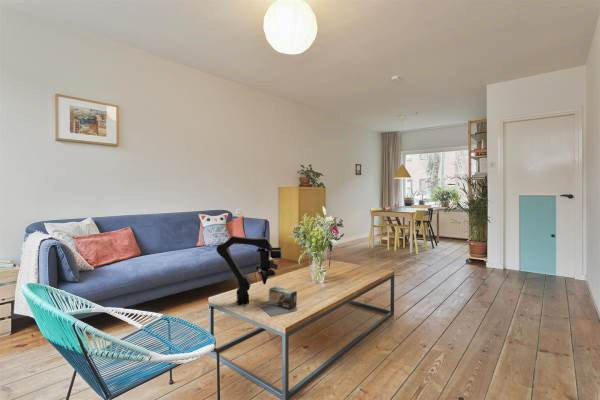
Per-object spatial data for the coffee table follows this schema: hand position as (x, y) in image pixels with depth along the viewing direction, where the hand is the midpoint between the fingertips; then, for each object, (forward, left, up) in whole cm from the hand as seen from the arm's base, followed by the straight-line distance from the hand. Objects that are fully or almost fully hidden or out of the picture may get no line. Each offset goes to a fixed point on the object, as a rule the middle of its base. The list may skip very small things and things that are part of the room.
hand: (264, 284), depth 183 cm
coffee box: (+3, -3, -6) cm, 8 cm away
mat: (+3, -13, -11) cm, 17 cm away
